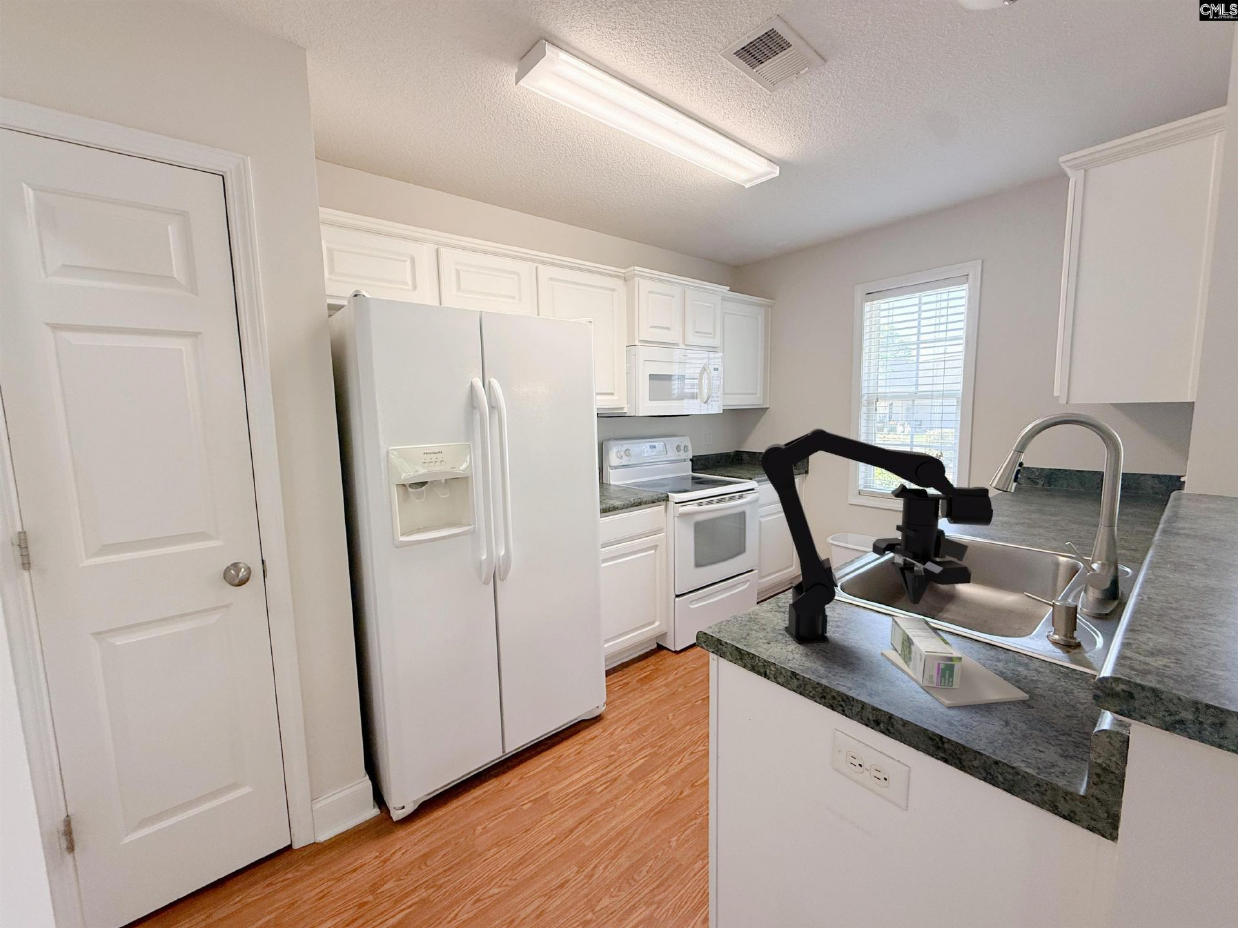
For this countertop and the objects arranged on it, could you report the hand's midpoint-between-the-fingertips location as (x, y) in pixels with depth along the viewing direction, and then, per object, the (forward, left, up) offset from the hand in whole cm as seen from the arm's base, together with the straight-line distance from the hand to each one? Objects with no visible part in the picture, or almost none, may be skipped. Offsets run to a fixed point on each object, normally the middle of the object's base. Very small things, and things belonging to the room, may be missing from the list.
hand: (914, 603), depth 93 cm
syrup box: (-1, +1, -6) cm, 6 cm away
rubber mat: (0, -9, -9) cm, 13 cm away
